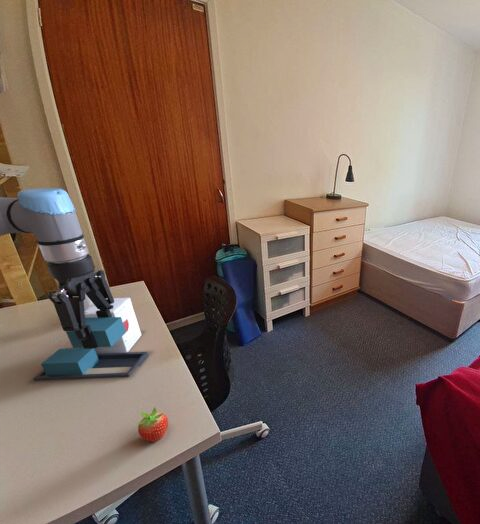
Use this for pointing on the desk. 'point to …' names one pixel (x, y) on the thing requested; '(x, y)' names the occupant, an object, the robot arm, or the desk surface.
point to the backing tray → (105, 366)
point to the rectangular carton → (126, 312)
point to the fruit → (153, 426)
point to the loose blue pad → (101, 331)
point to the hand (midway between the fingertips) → (100, 338)
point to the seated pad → (70, 361)
